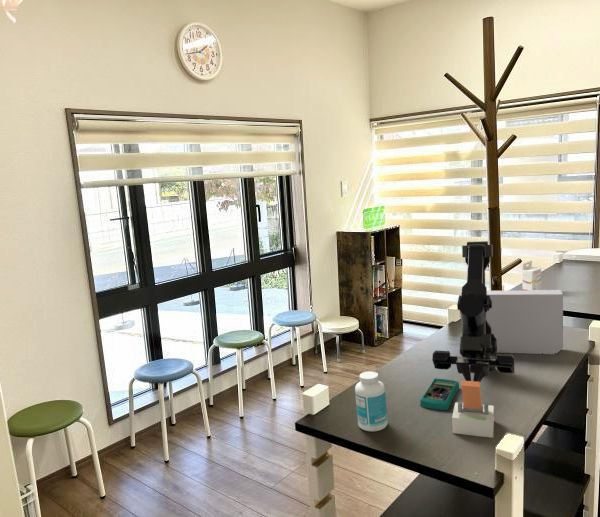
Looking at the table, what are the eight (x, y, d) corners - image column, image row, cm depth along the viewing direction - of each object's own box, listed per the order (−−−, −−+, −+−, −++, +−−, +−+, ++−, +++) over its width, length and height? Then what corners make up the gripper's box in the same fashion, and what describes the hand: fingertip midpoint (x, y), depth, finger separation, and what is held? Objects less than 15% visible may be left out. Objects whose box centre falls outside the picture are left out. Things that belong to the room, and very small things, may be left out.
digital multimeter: (419, 408, 134) (419, 398, 134) (433, 385, 147) (433, 376, 146) (447, 413, 130) (447, 402, 130) (459, 389, 143) (459, 379, 143)
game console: (472, 345, 174) (470, 290, 170) (560, 348, 164) (560, 289, 161) (472, 352, 168) (470, 294, 165) (563, 355, 159) (562, 294, 156)
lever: (463, 406, 123) (460, 380, 116) (483, 407, 121) (480, 381, 114) (463, 411, 122) (460, 385, 115) (482, 413, 120) (480, 387, 113)
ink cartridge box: (533, 296, 225) (532, 264, 222) (522, 295, 229) (521, 263, 226) (541, 292, 230) (541, 261, 228) (531, 291, 234) (530, 260, 232)
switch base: (455, 417, 127) (455, 394, 126) (494, 420, 124) (493, 398, 122) (452, 433, 120) (451, 409, 119) (493, 437, 116) (492, 413, 115)
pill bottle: (389, 419, 129) (386, 369, 127) (385, 434, 122) (381, 381, 120) (361, 417, 131) (357, 368, 129) (355, 431, 125) (351, 380, 122)
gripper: (431, 319, 124) (427, 380, 116) (513, 321, 117) (514, 386, 109) (437, 339, 133) (433, 396, 125) (513, 342, 126) (515, 403, 117)
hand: (472, 395), depth 119 cm, fingers closed, pressing on lever
